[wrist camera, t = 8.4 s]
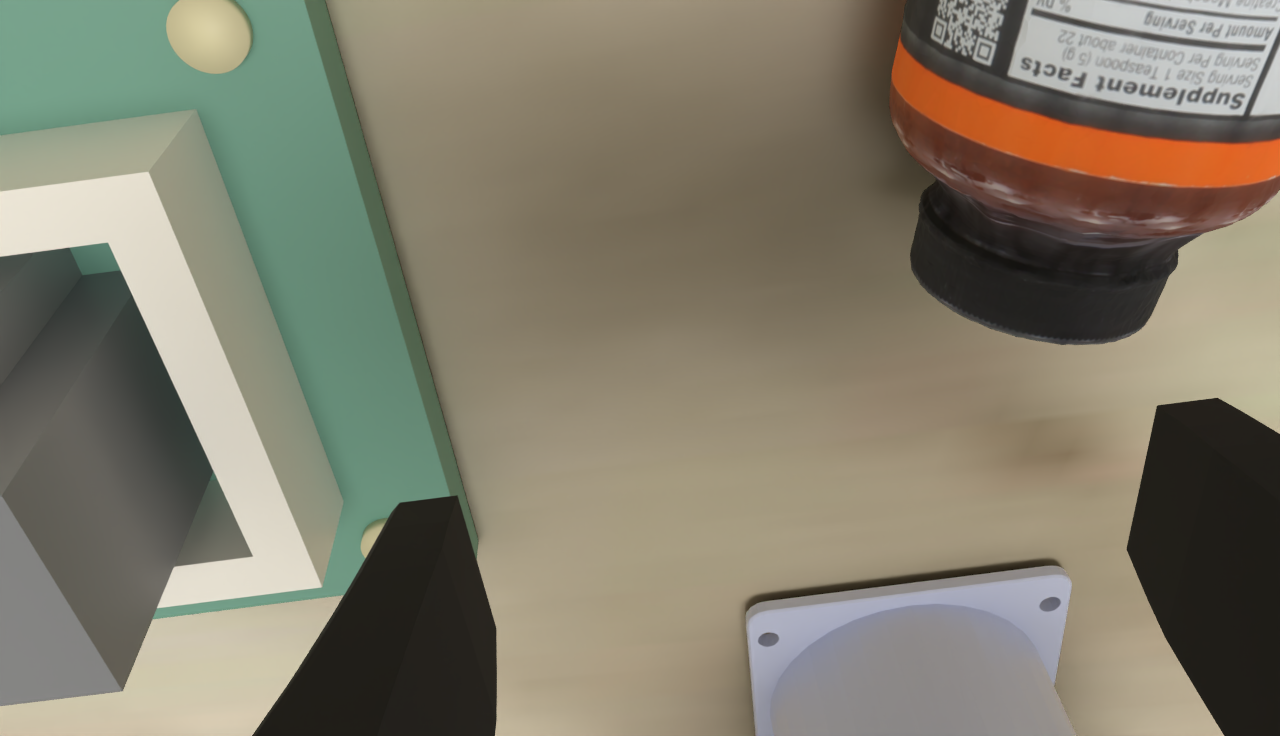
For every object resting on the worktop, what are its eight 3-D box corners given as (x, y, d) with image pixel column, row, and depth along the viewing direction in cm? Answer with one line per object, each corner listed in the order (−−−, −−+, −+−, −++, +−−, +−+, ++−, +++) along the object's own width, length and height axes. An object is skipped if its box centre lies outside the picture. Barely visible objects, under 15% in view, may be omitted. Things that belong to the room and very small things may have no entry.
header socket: (343, 501, 22) (322, 587, 20) (-15, 547, 22) (-71, 637, 20) (195, 108, 17) (148, 171, 15) (-265, 171, 17) (-372, 241, 15)
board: (478, 540, 24) (472, 605, 23) (-30, 604, 25) (-71, 674, 23) (295, -104, 16) (265, -75, 15) (-458, -1, 17) (-568, 40, 15)
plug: (225, 441, 21) (122, 690, 16) (26, 466, 21) (-137, 722, 16) (127, 216, 18) (-35, 436, 13) (-103, 245, 18) (-352, 476, 13)
